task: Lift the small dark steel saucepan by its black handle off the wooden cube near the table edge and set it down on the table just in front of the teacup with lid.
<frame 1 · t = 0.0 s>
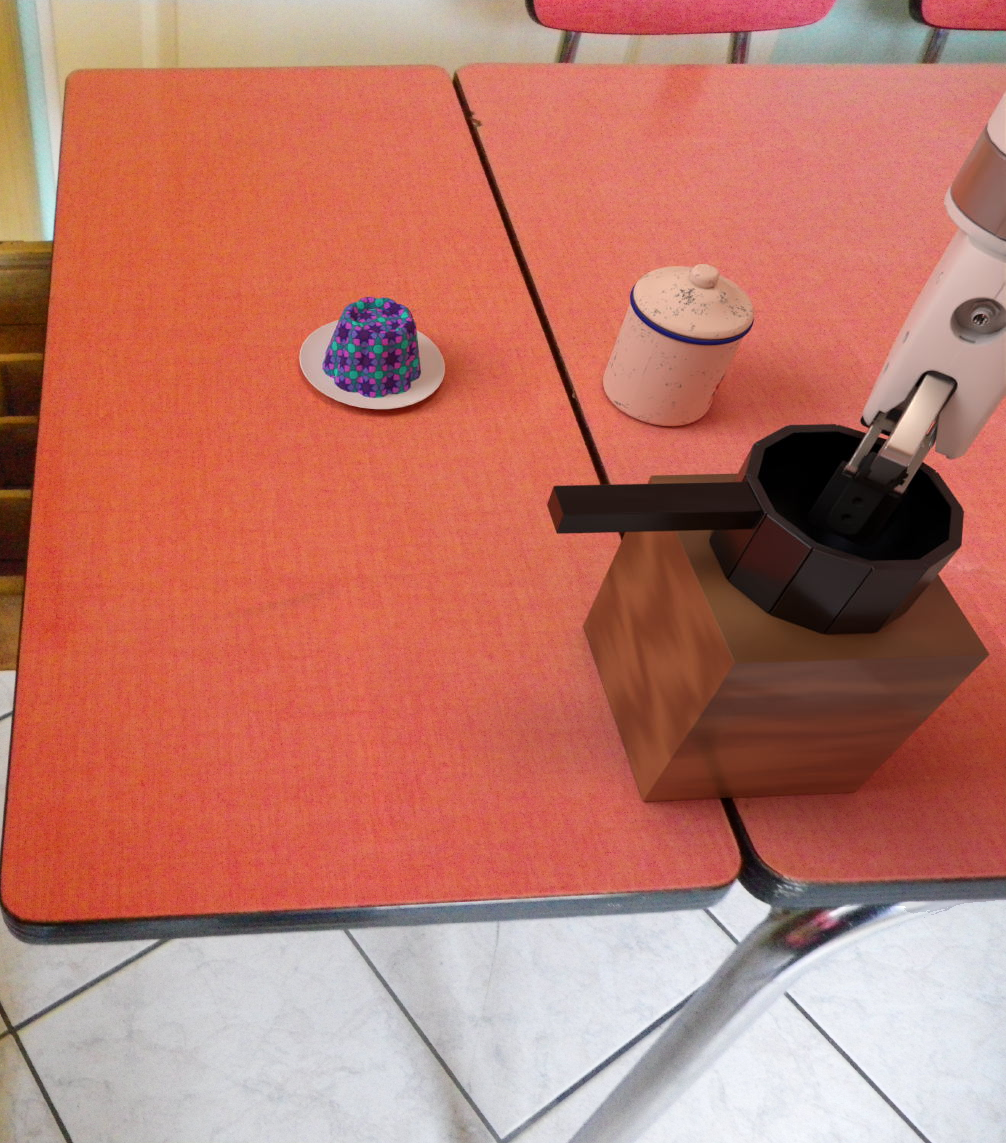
hand: (863, 479, 57), 15 cm above the table, tool pointing down, fingers open, 9 cm apart
wooden cube: (711, 704, 66), on the table
pudding: (370, 370, 87), on the table
pan: (809, 558, 55), point 14 cm above the table, touching wooden cube
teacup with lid: (648, 383, 87), on the table
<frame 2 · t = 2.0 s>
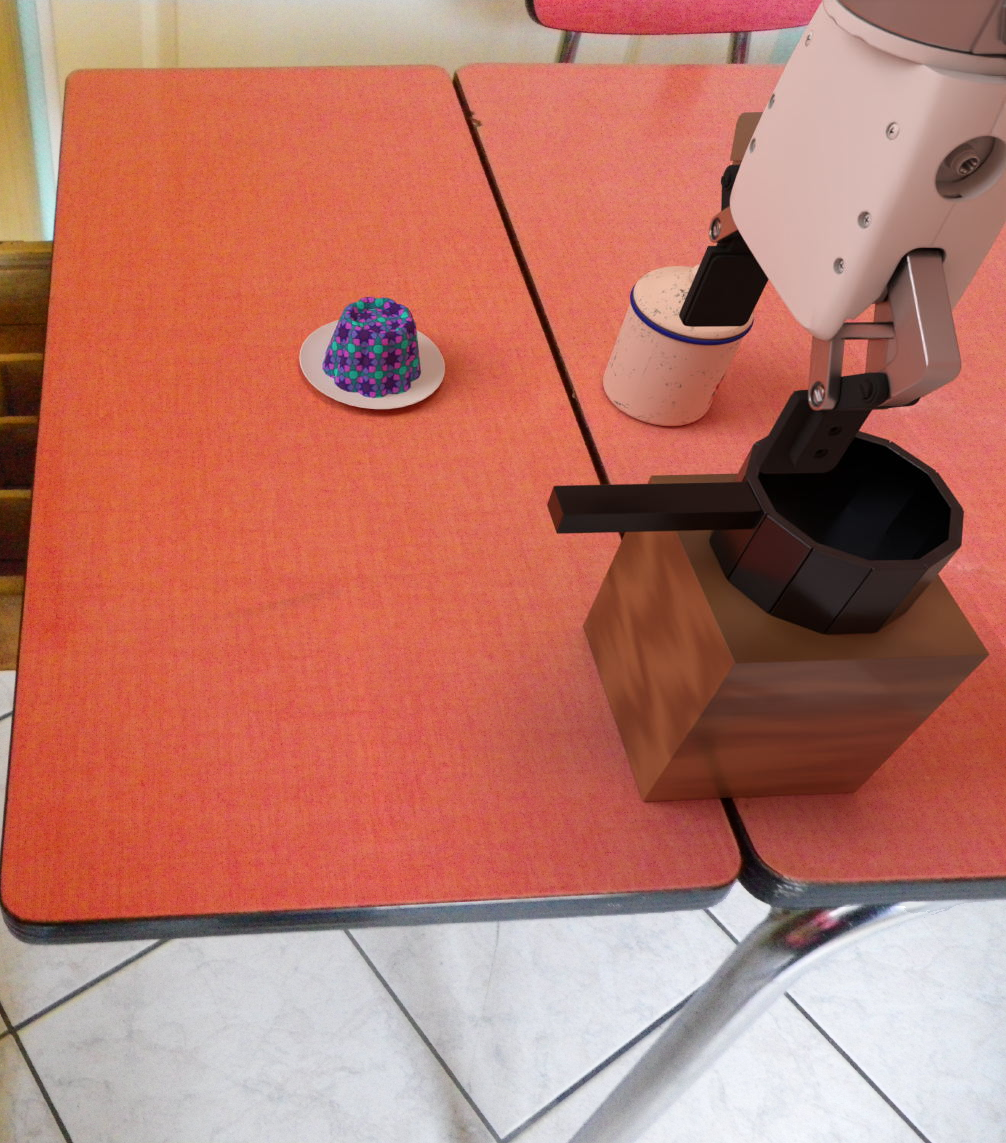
hand: (748, 390, 46), 25 cm above the table, tool pointing down, fingers open, 9 cm apart
nothing on the table moved.
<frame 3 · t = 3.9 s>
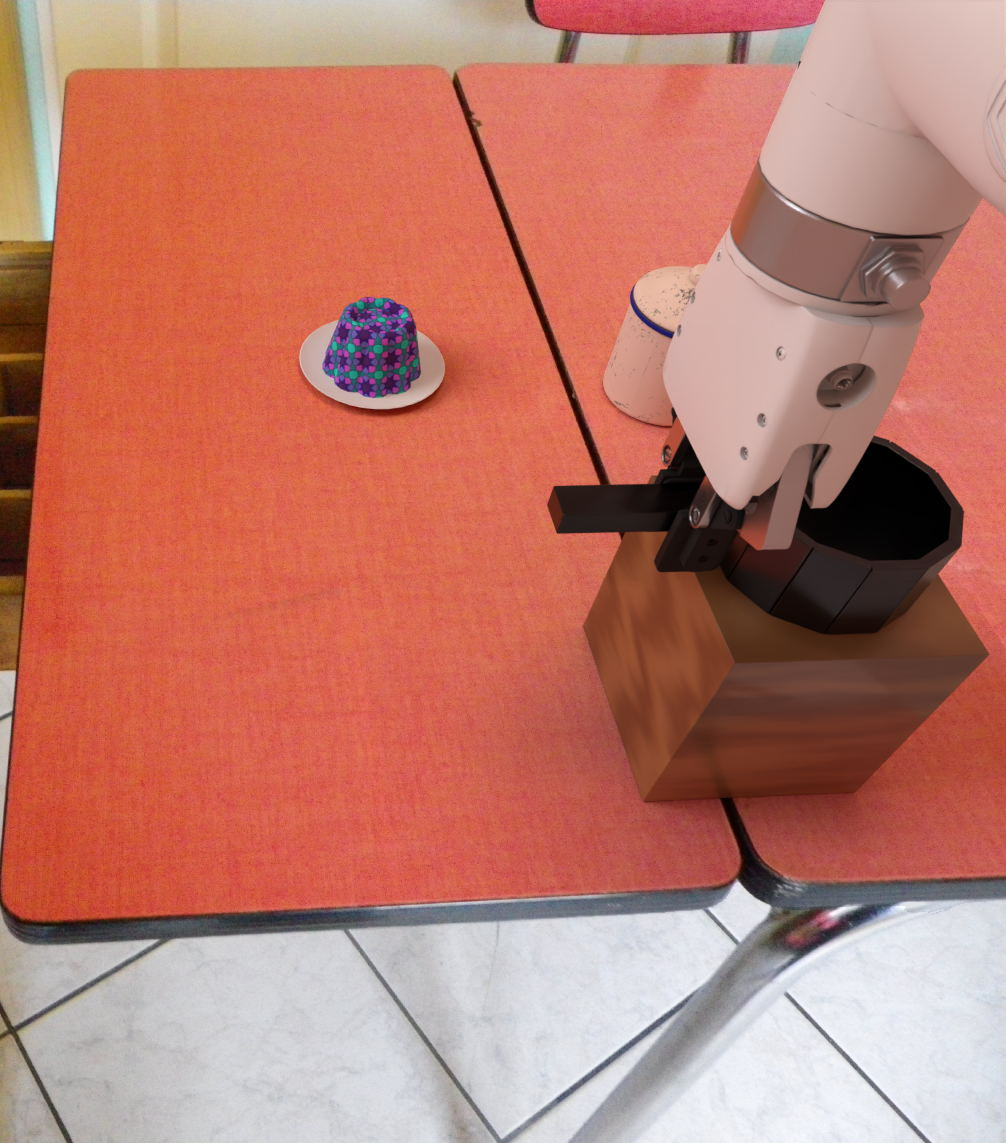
hand: (675, 545, 54), 15 cm above the table, tool pointing down, fingers closed on pan
pan: (809, 558, 55), point 14 cm above the table, touching gripper, wooden cube
everything else where it was.
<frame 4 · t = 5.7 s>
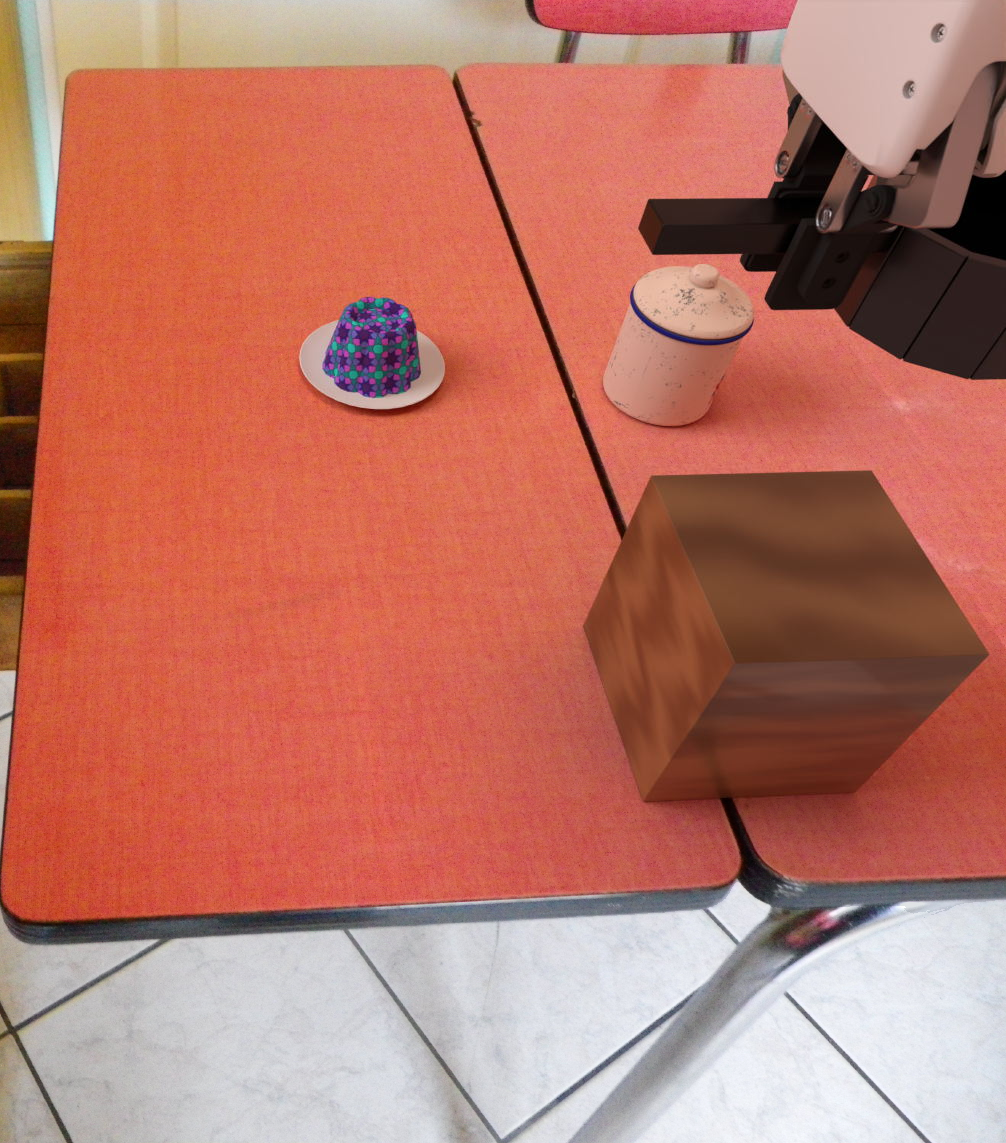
hand: (788, 283, 45), 29 cm above the table, tool pointing down, fingers closed on pan
pan: (941, 308, 47), point 28 cm above the table, touching gripper
everything else where it was.
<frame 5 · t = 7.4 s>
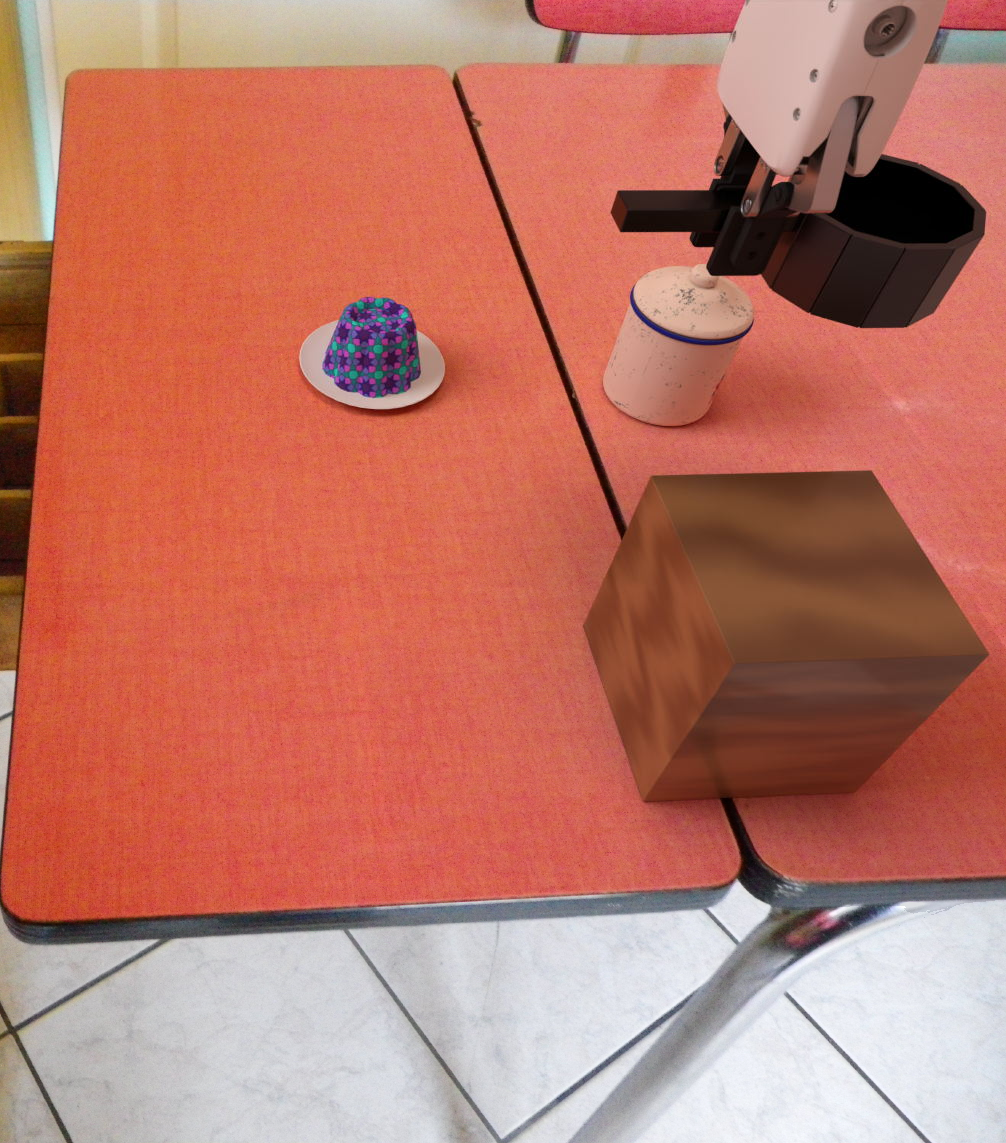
hand: (725, 256, 60), 22 cm above the table, tool pointing down, fingers closed on pan
pan: (844, 275, 61), point 20 cm above the table, touching gripper
everything else where it was.
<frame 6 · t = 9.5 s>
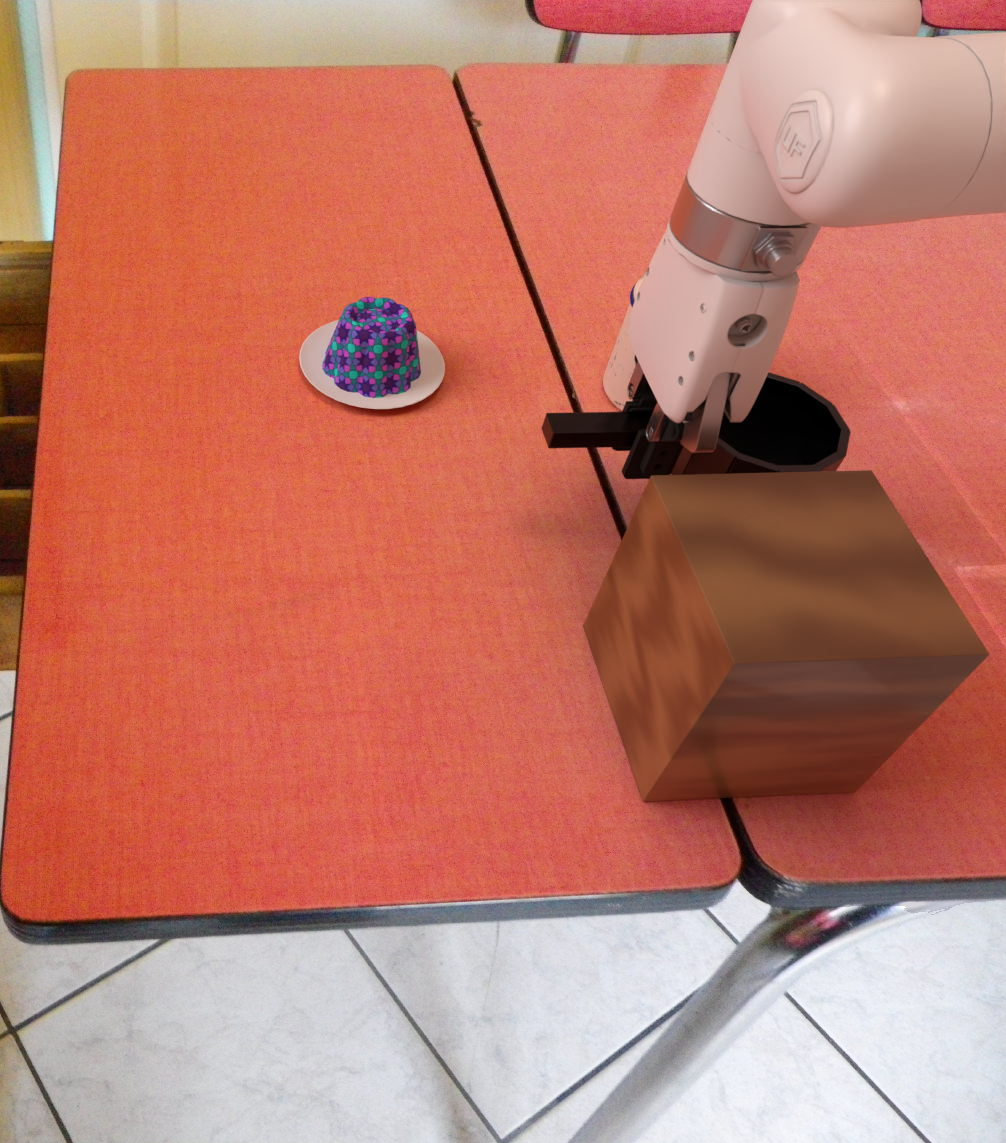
hand: (638, 460, 72), 6 cm above the table, tool pointing down, fingers closed on pan
pan: (739, 472, 73), point 5 cm above the table, touching gripper
everything else where it was.
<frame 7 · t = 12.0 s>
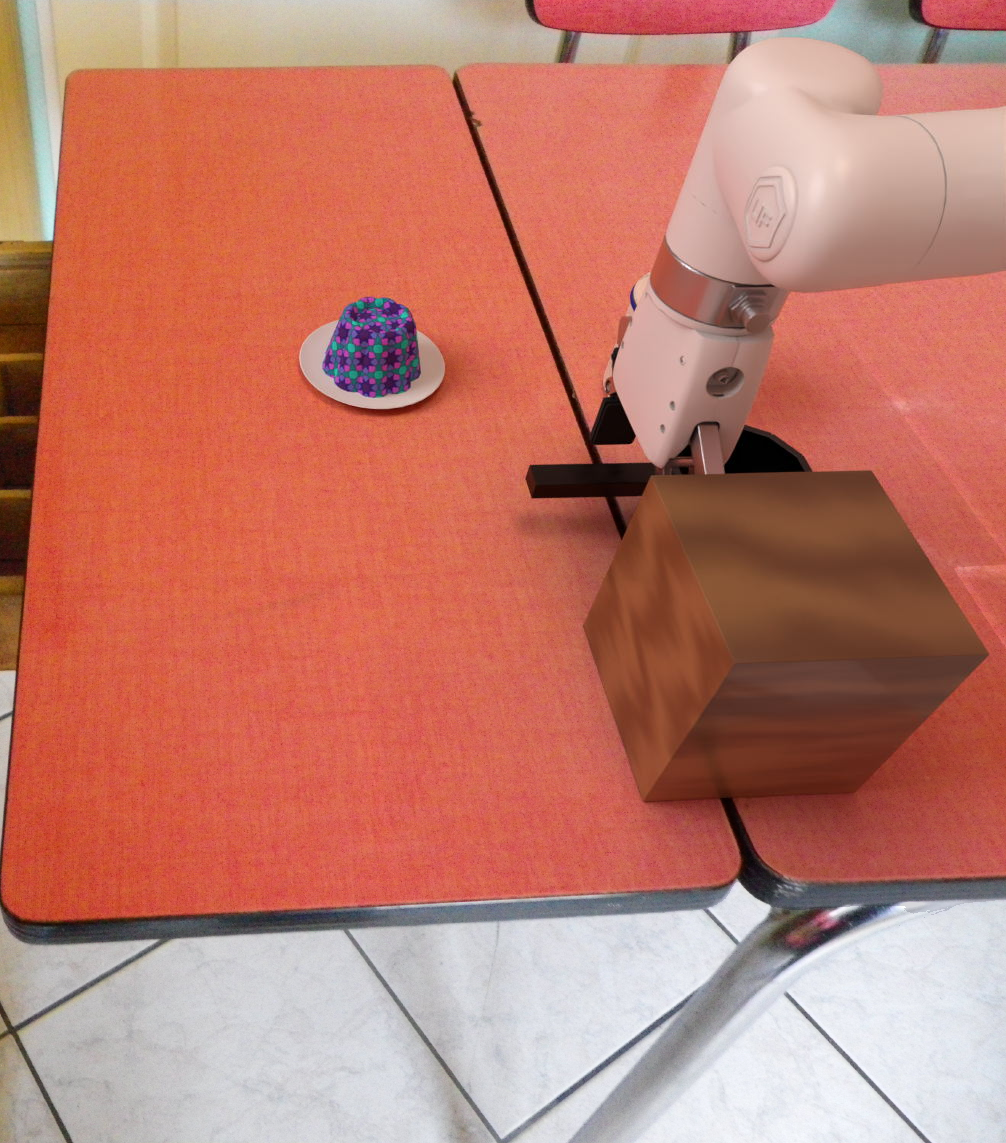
hand: (630, 488, 73), 4 cm above the table, tool pointing down, fingers open, 9 cm apart
pan: (715, 518, 77), on the table
everything else where it was.
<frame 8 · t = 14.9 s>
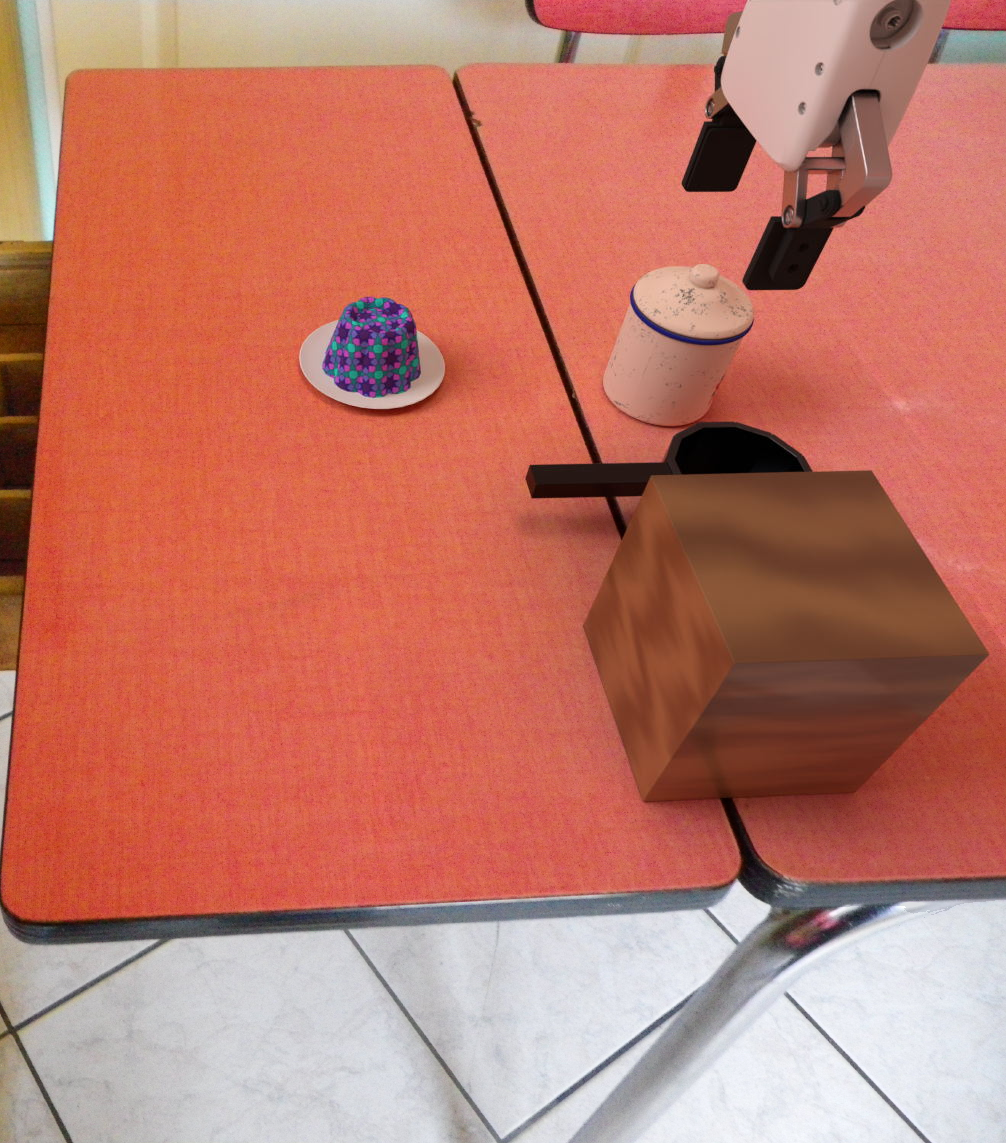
hand: (737, 235, 58), 23 cm above the table, tool pointing down, fingers open, 9 cm apart
nothing on the table moved.
at the end: pan inside the target area on the table beside the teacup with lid (0.1 cm from its centre), on the table; pan tilted 0°; the gripper is holding nothing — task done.
